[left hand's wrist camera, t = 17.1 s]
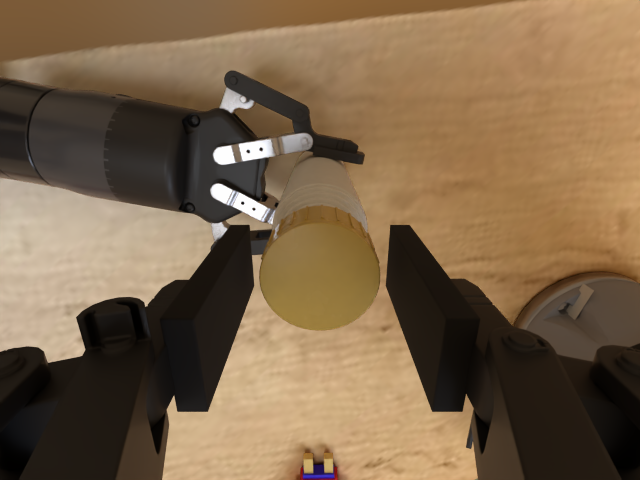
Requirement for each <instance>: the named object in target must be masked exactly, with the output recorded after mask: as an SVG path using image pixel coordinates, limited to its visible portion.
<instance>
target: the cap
mask: <svg viewBox="0 0 640 480" xmlns="http://www.w3.org/2000/svg"><path fill="white" fill-rule="evenodd" d="M261 259H262V262H261V267H260V276H259V278H260V286H261V290H262V293H263V295H264V298H265V300H266V301H267V303H268V305H269V306H270V307H271V309H272V310H273V311H274V312H275V313H276V314H277V315H278V316H280V317H281V318H282V319H283V320H285V321H287V322H288V323H290V324H293V325H295V326H297V327H300V328H304V329H309V330H331V329H336V328H339V327H342V326H345V325H347V324H349V323H351V322H353V321H355V320H356V319H358V318H359V317H360V316H361V315H362V314H364V313H365V312H366V310H367V309H368V308H369V307H370V305H371V304H372V303H373V301H374V299H375V297H376V295H377V292H378V289H379V284H380V268H379V264H378V263H379V260H378V257H377V255H376V252H375V248H374V246H373V243H372V240H371V238H370V235H369V233H367V232H366V231H365V229H364V227H363V226H362V223H361V222H359V221H357V220H356V219H355V218H354V217H353V216H351V213H347V212H345V211H343V210H340V209H338V208H337V207H335V208H334V207H330V206H323V205H321V206H310V207H308V206H306V207H305V208H302V209H299V210H297V211H293V212H292V213H291V214H290V215H288V216H287V217H286V218H284V219H281V221H280V223H279V224H278V226H277V227H276V228H275V230H274V229H273V230H272V233H271V236H270V238H269V241H268V242H267V245H266V247H265V250H264V252H263V255H262V257H261Z"/></svg>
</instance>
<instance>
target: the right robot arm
mask: <svg viewBox="0 0 640 480" xmlns="http://www.w3.org/2000/svg"><path fill="white" fill-rule="evenodd" d="M224 81H225V85H226V86H227V87H226V90H225V93H224V95H223V98H222V101H221V104H220V107H219V108H215V109H212V110H210V111H206V112H203V111H197V110H191V109H186V108H181V107H176V106H171V105H165V104H160V103H155V102H150V101H145V100H139V99H134V98H132V97H129V96H126V95H122V94H118V95H113V94H108V93H103V92H96V91H83V90H69V89H62V88H57V87H52V86H46V85H41V84H36V83H31V82H25V81H21V80H15V79H10V78H3V77H0V178H5V179H13V180H19V181H24V182H30V183H36V184H41V185H47V186H53V187H59V188H63V189H67V190H70V191H73V192H76V193H80V194H83V195H87V196H91V197H96V198H102V199H108V200H114V201H119V202H125V203H131V204H137V205H142V206H148V207H154V208H160V209H165V210H171V211H177V212H184V213H192V214H195V215H198V216H200V217H201V218H203V219H204V220H205V221H207V222H209V223H211V227H212V232H213V237H214V244H213V245H212V246H211V250H212V249H213V248H214V246H215V245H216V244H217V242H218V241H219V240H220V238H221V237H222V236H223V234H224V233H225V232H226V230H227V229H228V228H229V226H230V224H228V223H227V222H226V220H227V219H229V218H231V217H233V216H235V215H237V214H240V213H242V212H244V213H246V214H248V215H250V216H251V217H253V218H255V219H257V220H259V221H261V222H267V223H270V224H272V222H273V217H274V214H275V211H276V209H277V207H278V204H279V202H280V201H278V200H277V199H276V198H275V197H274V196H272V195H270V194H268V193H266V192H265V185H266V183H265V175H264V173H265V171H266V168H267V166H268V162H269V157H273V156H278V155H282V154H287V153H293V152H300V151H309V152H313V156H318V157H323V158H329V159H334V160H339V161H344V162H350V163H355V164H363V161H364V156H365V154H364V153H363V152H360V151H357V150H358V145H357V144H355V143H354V142H352V141H351V140H346V139H341V138H336V137H331V136H325V135H320V134H317V133H316V132H314V130H313V129H312V126H311V121H310V115H309V114H310V112H309V109H308V107H307V106H306V105H304V104H302V103H300V102H298V101H296V100H294V99H292V98H290V97H288V96H286V95H284V94H282V93H280V92H278V91H276V90H274V89H272V88H270V87H268V86H266V85H264V84H262V83H260V82H258V81H256V80H254V79H252V78H250V77H248V76H246V75H244V74H241V73H239V72H237V71H229V72H228V73H227V74H226V75H225V78H224ZM256 102H257V103H259V104H261V105H263V106H265V107H267V108H269V109H271V110H273V111H275V112H277V113H279V114H281V115H283V116H285V117H287V118H289V119H291V120H292V122H293V127H294V132H293V133H287V134H278V135H272V136H266V137H260V138H258V137H257V136H256V135H255V134H254V133H253V132H252V131H251V130H250V129H249V128H248V126H247V125H246V124H245V123H244V122H243V121H242V120H241V119H240V118H239V117H238V116H237V115H236V114H235V111H236V110H237V109H239V108H244V109H251V108H253V107H254V106H255V104H256ZM261 198H262V199H261ZM253 207H254V208H255V209H254V208H253ZM271 233H272V229H270V230H255V231H250V238H251V251H252V255H260V254H263V252H264V250H265V247H266V245H267V242H268V241H269V238H270V236H271Z"/></svg>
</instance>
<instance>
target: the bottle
mask: <svg viewBox="0 0 640 480" xmlns="http://www.w3.org/2000/svg"><path fill="white" fill-rule="evenodd" d="M321 205H323V206H330V207H334V208H335V207H337V208H338V209H340V210H343V211H345V212H347V213H351V216H353V217H354V218H355V219H356V220H357V221H359V222H361V223H362V226H363V227H364V229H365V231H366V232H367V228H368V226H367V219H366V215H365V212H364V210H363V208H362V205H361V203H360V201H359V198H358V196H357V193H356V191H355V189H354V186H353V184H352V182H351V179H350V177H349V175H348V172H347V170H346V167H345V165H344V163H343V161H339V160H334V159H329V158H323V157H318V156H313V152H309V151H305V152H304V153H302V154H301V156H300V157H299V158H298V160H297V162H296V164H295V167H294V169H293V171H292V174H291V176H290V178H289V181H288V183H287V185H286V188H285V190H284V192H283V195H282V197H281V200H280V202H279V204H278V207H277V209H276V211H275V214H274V217H273V222H272V230H273V229H274V230H275V228H276V227H277V226H278V224H279V223H280V221H281V219H284V218H286V217H287V216H288V215H290V214H291V213H292V212H293V211H297V210H299V209H302V208H305V207H306V206H308V207H310V206H321Z"/></svg>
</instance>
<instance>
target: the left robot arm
mask: <svg viewBox="0 0 640 480" xmlns="http://www.w3.org/2000/svg"><path fill="white" fill-rule="evenodd" d="M253 287H254V277H253V264H252V251H251V238H250V225H230V226H229V228H228V229H227V230H226V232H225V233H224V234H223V236H222V237H221V238H220V240H219V241H218V242H217V244H216V245H215V246H214V248H213V249H212V250H211V251H210V253H209V254H208V255H207V257H206V258H205V259H204V261H203V262H202V263H201V265H200V266H199V267H198V269H197V270H196V271H195V273H194V274H193V275H192V277H191V278H190V279H189V280H175V281H173V282H171V283H170V284H168V285H166V286H165V287H163V288H162V289H161V290H160V291H159V292H158V293H157V295H156V296H155V298H154V299H152V300H151V301H150V303H149V304H148V306H146V307H145V304H144V302H143V301H141V300H140V299H138V298H133V297H119V298H114V299H109V300H105V301H102V302H99V303H97V304H94V305H92V306H90V307H89V308H87V309H85V310H83V311H82V312H81V313H80V314H79V315H78V316H77V317H76V319H77V322H78V325H79V329H80V332H81V336H82V339H83V342H84V346H85V349H86V350H85V352H84V354H83V356H80V357H76V358H71V359H66V360H61V361H56V362H51V363H48V362H47V360H46V357H45V354H44V351H42V350H41V349H40V348H37V347H20V348H13V349H8V350H7V351H6V350H5V351H2V352H0V480H162V475H163V468H164V460H165V452H166V445H167V437H168V429H169V420H168V414H167V408H168V406H169V404H170V402H171V400H172V398H173V396H175V401H176V406H177V412H208V410H209V407H210V404H211V402H212V399H213V396H214V393H215V391H216V388H217V385H218V383H219V380H220V377H221V374H222V372H223V369H224V366H225V363H226V361H227V358H228V355H229V353H230V350H231V347H232V344H233V342H234V339H235V336H236V334H237V331H238V328H239V325H240V323H241V320H242V317H243V315H244V312H245V309H246V306H247V304H248V301H249V298H250V296H251V293H252V290H253ZM386 287H387V290H388V293H389V296H390V298H391V301H392V304H393V306H394V309H395V312H396V315H397V317H398V320H399V323H400V325H401V328H402V331H403V334H404V336H405V339H406V342H407V344H408V347H409V350H410V353H411V355H412V358H413V361H414V363H415V366H416V369H417V372H418V374H419V377H420V380H421V382H422V385H423V388H424V391H425V393H426V396H427V399H428V402H429V404H430V407H431V410H432V412H463V406H464V401H465V396H466V394H467V396H468V398H469V400H470V402H471V404H472V406H473V408H474V410H473V414H472V419H471V424H470V429H469V434H468V438H467V445H466V448H470V449H471V446H472V442H473V444H474V452H475V459H476V467H477V474H478V479H476V480H640V284H639V283H638V282H636V281H634V280H632V279H630V278H628V277H626V276H623V275H620V274H616V273H610V272H591V273H584V274H579V275H575V276H572V277H569V278H566V279H564V280H562V281H559V282H557V283H555V284H553V285H552V286H550V287H548V288H547V289H545V290H544V291H542V292H541V293H540V294H538V295H537V296H536V297H535V298H534V299H533V300H532V301H531V302H530V303H529V304H528V305H527V306H526V307H525V308H524V310H523V311H522V312H521V314H520V315H519V317H518V319H517V321H516V323H515V325H514V327H513V326H512V325H511V324H510V323H509V322H508V320H507V319H506V318H505V317H504V316H503V315H502V314H501V312H500V311H499V310H498V309H497V308H496V307H495V306H494V305H492V302H491V301H490V300H489V299H488V298H487V297H486V295H485V294H484V293H483V292H482V291H481V290H480V289H479V287H478V286H476V285H474V284H473V283H471V282H469V281H467V280H466V279H450V278H449V277H448V275H447V274H446V273H445V271H444V270H443V269H442V267H441V266H440V265H439V263H438V262H437V261H436V259H435V258H434V257H433V255H432V254H431V253H430V251H429V250H428V249H427V248H426V246H425V245H424V244H423V242H422V241H421V240H420V238H419V237H418V236H417V234H416V233H415V232H414V230H413V229H412V228H411V226H410V225H390V238H389V251H388V264H387V277H386Z"/></svg>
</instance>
